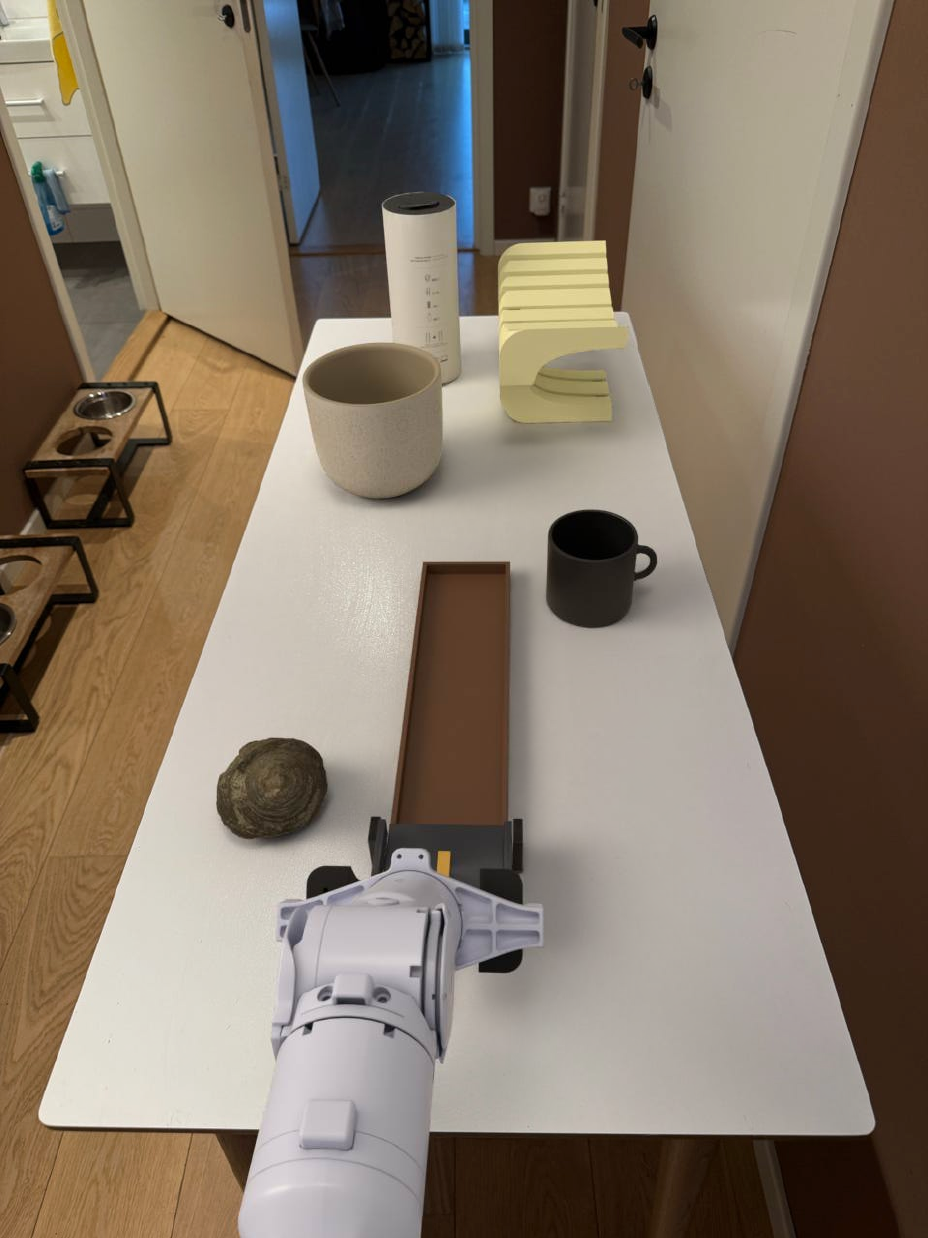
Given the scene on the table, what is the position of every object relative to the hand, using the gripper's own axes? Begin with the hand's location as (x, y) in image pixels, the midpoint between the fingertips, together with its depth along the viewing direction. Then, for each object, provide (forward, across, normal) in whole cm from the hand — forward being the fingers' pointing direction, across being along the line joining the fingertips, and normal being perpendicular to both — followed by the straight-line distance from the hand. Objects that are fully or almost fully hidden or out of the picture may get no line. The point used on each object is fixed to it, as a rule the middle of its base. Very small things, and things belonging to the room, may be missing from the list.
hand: (425, 901), depth 59 cm
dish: (+13, 0, +2) cm, 13 cm away
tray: (+32, 0, -16) cm, 35 cm away
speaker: (+76, +8, -70) cm, 103 cm away
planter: (+57, +12, -46) cm, 74 cm away
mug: (+41, -15, -27) cm, 51 cm away
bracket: (+20, 0, -1) cm, 20 cm away
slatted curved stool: (+70, -11, -62) cm, 95 cm away
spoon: (+14, 0, 0) cm, 14 cm away
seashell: (+24, +16, -6) cm, 30 cm away
